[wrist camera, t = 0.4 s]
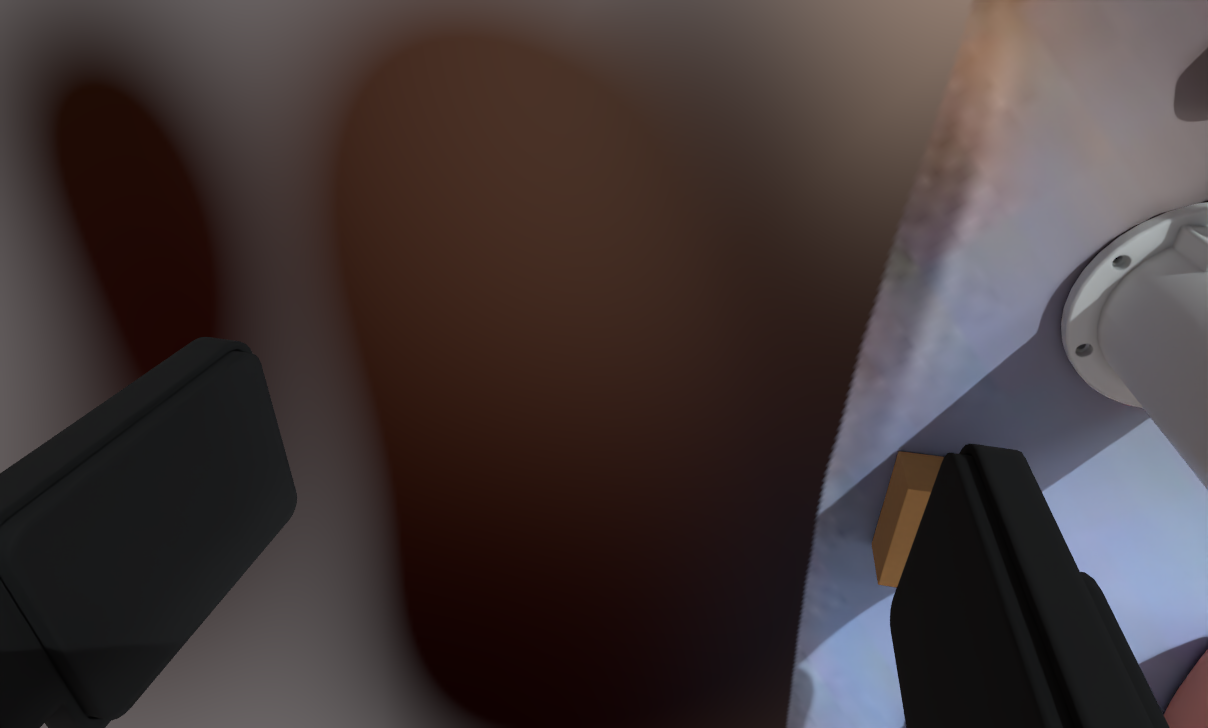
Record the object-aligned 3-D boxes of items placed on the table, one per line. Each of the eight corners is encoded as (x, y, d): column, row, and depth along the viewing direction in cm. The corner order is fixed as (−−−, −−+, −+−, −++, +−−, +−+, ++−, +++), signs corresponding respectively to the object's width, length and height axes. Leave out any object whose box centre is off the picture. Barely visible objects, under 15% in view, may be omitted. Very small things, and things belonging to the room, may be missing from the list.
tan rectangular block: (898, 450, 48) (907, 488, 45) (985, 461, 47) (1001, 501, 44) (871, 543, 53) (877, 584, 50) (949, 555, 52) (961, 598, 49)
